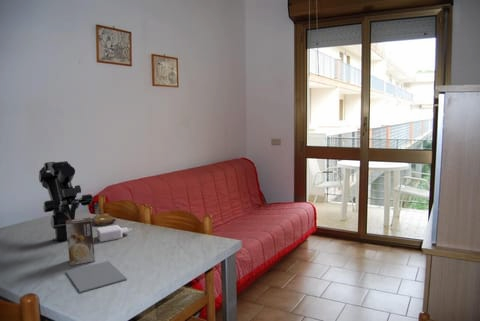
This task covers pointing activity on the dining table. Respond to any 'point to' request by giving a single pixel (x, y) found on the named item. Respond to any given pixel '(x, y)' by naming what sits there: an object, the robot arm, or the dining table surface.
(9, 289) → the dining table surface
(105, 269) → the mat
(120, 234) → the charger
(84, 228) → the coffee box
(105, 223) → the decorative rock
